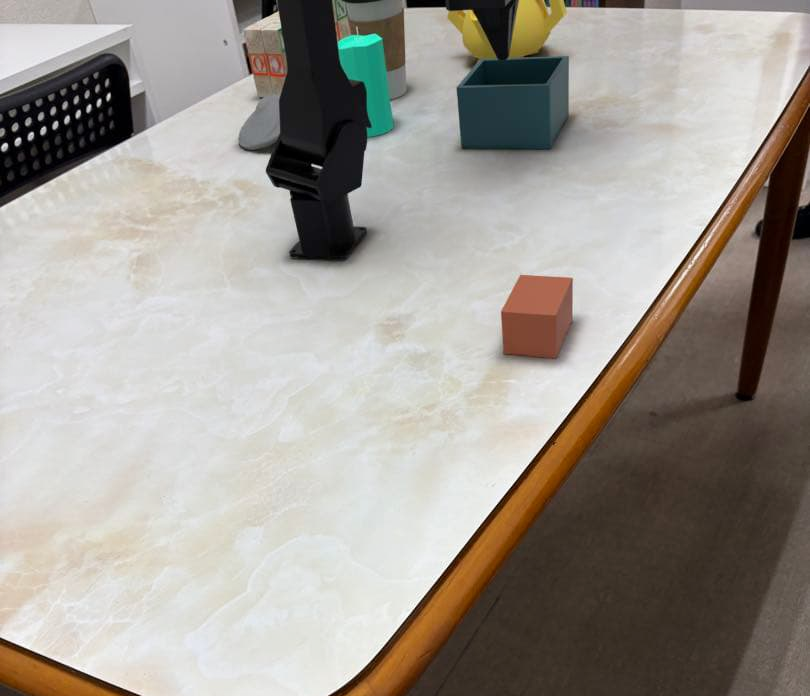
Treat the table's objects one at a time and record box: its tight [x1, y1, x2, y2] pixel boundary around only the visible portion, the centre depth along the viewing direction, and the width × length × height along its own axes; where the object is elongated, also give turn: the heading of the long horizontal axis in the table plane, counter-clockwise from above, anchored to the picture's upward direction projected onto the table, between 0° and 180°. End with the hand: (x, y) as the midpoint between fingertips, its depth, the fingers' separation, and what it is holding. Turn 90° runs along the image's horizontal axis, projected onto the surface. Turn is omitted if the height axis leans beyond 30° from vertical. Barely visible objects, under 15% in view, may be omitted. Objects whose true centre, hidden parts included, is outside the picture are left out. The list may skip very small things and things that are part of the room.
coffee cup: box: [342, 0, 408, 100], centre depth 117 cm, size 8×8×15 cm
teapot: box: [447, 0, 568, 65], centre depth 123 cm, size 20×18×11 cm
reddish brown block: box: [500, 274, 574, 359], centre depth 71 cm, size 6×4×4 cm
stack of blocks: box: [243, 0, 351, 98], centre depth 129 cm, size 21×6×12 cm, turn 151°
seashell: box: [237, 92, 281, 151], centre depth 114 cm, size 12×6×10 cm
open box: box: [456, 55, 570, 150], centre depth 103 cm, size 7×11×10 cm
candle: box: [338, 27, 395, 138], centre depth 109 cm, size 6×6×12 cm
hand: (503, 58), depth 96 cm, fingers closed
